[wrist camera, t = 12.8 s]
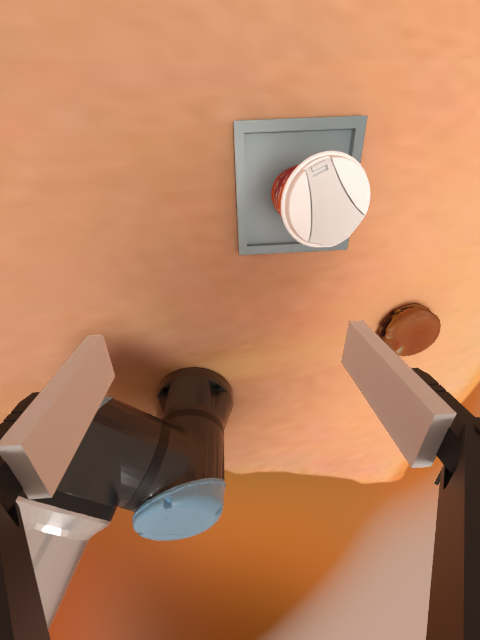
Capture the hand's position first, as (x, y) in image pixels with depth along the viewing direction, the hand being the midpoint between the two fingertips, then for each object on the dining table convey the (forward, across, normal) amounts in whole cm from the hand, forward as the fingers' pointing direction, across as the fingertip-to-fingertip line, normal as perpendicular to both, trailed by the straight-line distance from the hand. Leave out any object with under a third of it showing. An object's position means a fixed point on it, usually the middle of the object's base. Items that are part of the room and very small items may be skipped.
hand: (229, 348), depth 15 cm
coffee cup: (+28, +10, +6) cm, 30 cm away
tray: (+29, +10, +6) cm, 31 cm away
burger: (+29, +32, -16) cm, 46 cm away
